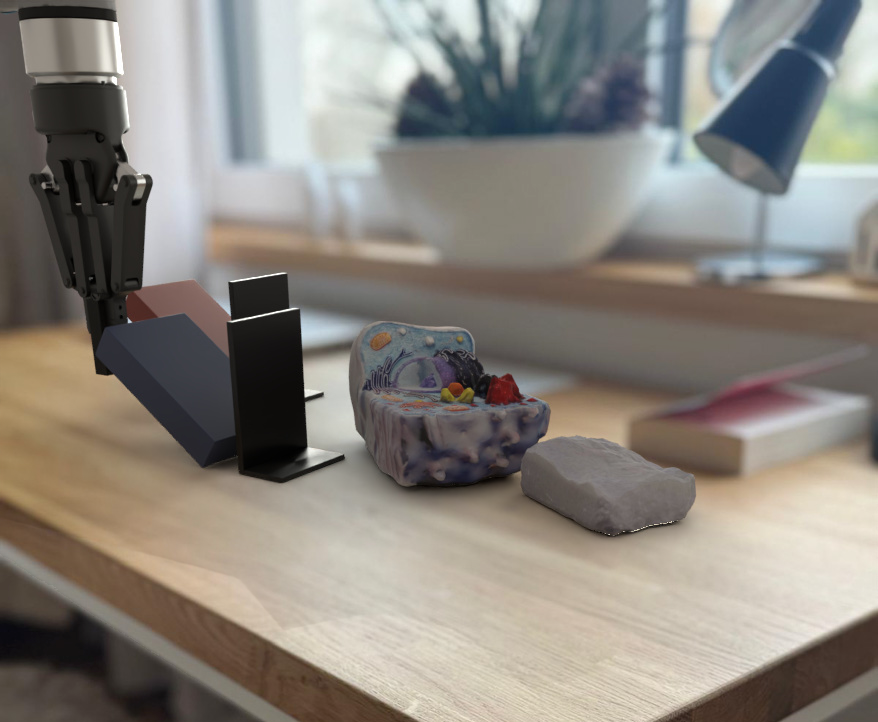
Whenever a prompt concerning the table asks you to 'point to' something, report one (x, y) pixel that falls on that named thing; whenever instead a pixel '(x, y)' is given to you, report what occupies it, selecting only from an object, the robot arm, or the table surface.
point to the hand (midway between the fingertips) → (113, 372)
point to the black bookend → (262, 302)
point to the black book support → (271, 398)
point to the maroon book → (181, 307)
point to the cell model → (438, 407)
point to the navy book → (176, 381)
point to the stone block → (604, 484)
